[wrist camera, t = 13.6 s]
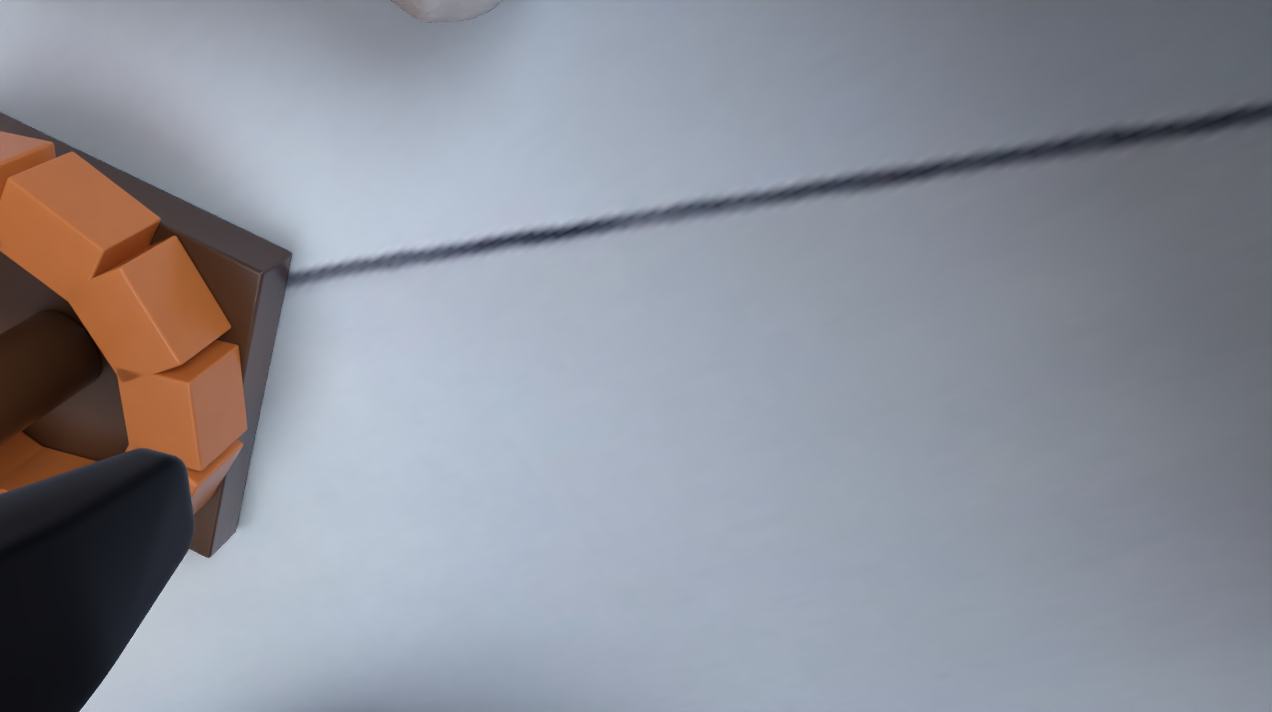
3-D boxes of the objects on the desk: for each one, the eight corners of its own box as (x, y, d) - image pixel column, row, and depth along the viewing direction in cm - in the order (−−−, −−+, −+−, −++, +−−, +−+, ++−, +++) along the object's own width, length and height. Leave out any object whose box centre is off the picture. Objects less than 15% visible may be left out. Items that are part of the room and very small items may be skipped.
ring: (262, 559, 27) (219, 607, 25) (-77, 464, 28) (-137, 503, 27) (222, 175, 21) (164, 205, 20) (-188, 90, 23) (-270, 112, 22)
